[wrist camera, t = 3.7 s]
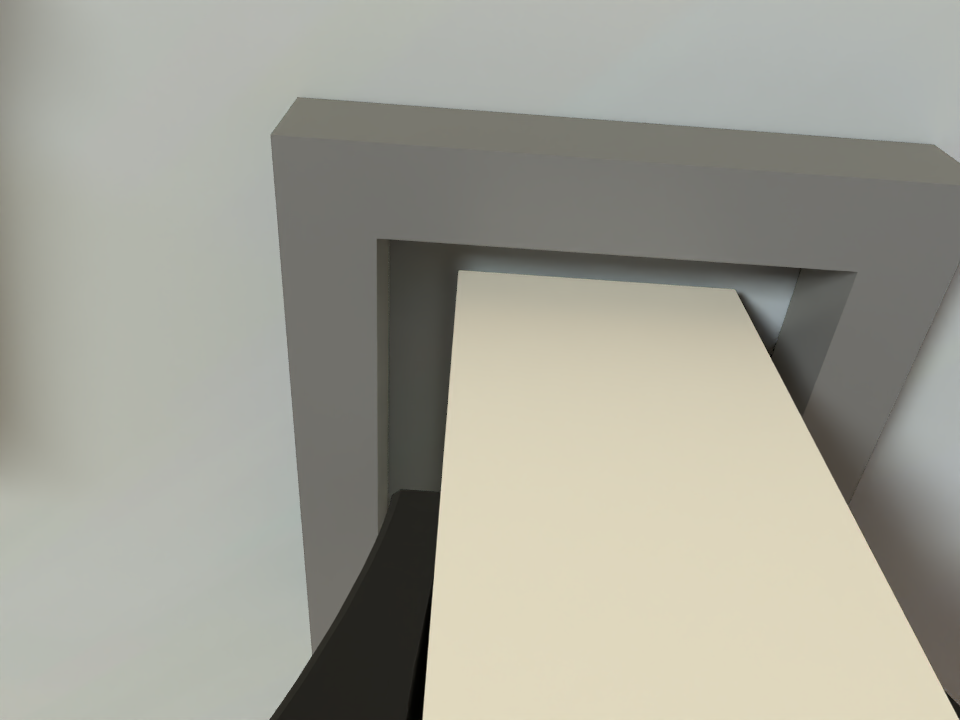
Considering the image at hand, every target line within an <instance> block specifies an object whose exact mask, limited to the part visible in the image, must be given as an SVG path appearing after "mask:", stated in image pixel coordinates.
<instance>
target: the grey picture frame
mask: <svg viewBox="0 0 960 720" xmlns="http://www.w3.org/2000/svg"><path fill="white" fill-rule="evenodd" d="M271 146H272V159H273V171H274V184H275V196H276V209H277V221H278V234H279V246H280V259H281V271H282V284H283V296H284V308H285V321H286V333H287V346H288V358H289V371H290V383H291V396H292V408H293V421H294V433H295V446H296V458H297V471H298V483H299V495H300V508H301V520H302V533H303V545H304V558H305V570H306V583H307V595H308V608H309V620H310V633H311V645H312V655H313V654H314V652H315V650H316V649H317V647H318V646H319V644H320V642H321V641H322V639H323V638H324V636H325V634H326V633H327V631H328V630H329V628H330V626H331V625H332V623H333V621H334V620H335V618H336V616H337V614H338V613H339V611H340V609H341V607H342V605H343V603H344V602H345V600H346V598H347V596H348V594H349V592H350V591H351V589H352V587H353V585H354V583H355V581H356V579H357V578H358V576H359V574H360V572H361V570H362V568H363V566H364V564H365V562H366V560H367V558H368V556H369V554H370V551H371V549H372V547H373V545H374V543H375V541H376V539H377V536H378V534H379V532H380V529H381V527H382V524H383V522H384V519H385V516H386V514H387V511H388V413H389V249H390V239H392V240H406V241H421V242H435V243H449V244H464V245H478V246H492V247H507V248H521V249H535V250H550V251H564V252H578V253H593V254H607V255H622V256H636V257H650V258H665V259H679V260H693V261H708V262H722V263H736V264H751V265H765V266H779V267H794V268H801V271H800V274H799V277H798V280H797V283H796V286H795V289H794V292H793V295H792V298H791V301H790V304H789V307H788V310H787V313H786V316H785V319H784V322H783V325H782V328H781V331H780V334H779V337H778V340H777V343H776V346H775V349H774V352H773V355H772V358H771V360H772V362H773V363H774V365H775V367H776V369H777V371H778V373H779V375H780V377H781V379H782V381H783V383H784V385H785V386H786V388H787V390H788V392H789V394H790V396H791V398H792V400H793V402H794V404H795V406H796V408H797V409H798V411H799V413H800V415H801V417H802V419H803V421H804V423H805V425H806V427H807V429H808V431H809V433H810V434H811V436H812V438H813V440H814V442H815V444H816V446H817V448H818V450H819V452H820V454H821V456H822V457H823V459H824V461H825V463H826V465H827V467H828V469H829V471H830V473H831V475H832V477H833V479H834V480H835V482H836V484H837V486H838V488H839V490H840V492H841V494H842V496H843V498H844V500H845V502H846V504H847V505H848V504H849V502H850V500H851V498H852V496H853V493H854V491H855V489H856V487H857V485H858V483H859V480H860V478H861V476H862V474H863V472H864V470H865V467H866V465H867V463H868V461H869V459H870V456H871V454H872V452H873V450H874V448H875V446H876V443H877V441H878V439H879V437H880V435H881V433H882V430H883V428H884V426H885V424H886V422H887V419H888V417H889V415H890V413H891V411H892V409H893V406H894V404H895V402H896V400H897V398H898V395H899V393H900V391H901V389H902V387H903V385H904V382H905V380H906V378H907V376H908V374H909V372H910V369H911V367H912V365H913V363H914V361H915V358H916V356H917V354H918V352H919V350H920V348H921V345H922V343H923V341H924V339H925V337H926V335H927V332H928V330H929V328H930V326H931V324H932V321H933V319H934V317H935V315H936V313H937V311H938V308H939V306H940V304H941V302H942V300H943V298H944V295H945V293H946V291H947V289H948V287H949V284H950V282H951V280H952V278H953V276H954V274H955V271H956V269H957V267H958V265H959V263H960V163H959V162H958V161H956V160H955V159H953V158H952V157H951V156H949V155H948V154H946V153H945V152H944V151H942V150H941V149H940V148H938V147H937V146H935V145H931V144H918V143H905V142H891V141H878V140H864V139H851V138H837V137H824V136H811V135H797V134H784V133H770V132H757V131H743V130H730V129H717V128H703V127H690V126H676V125H663V124H649V123H636V122H623V121H609V120H596V119H582V118H569V117H555V116H542V115H529V114H515V113H502V112H488V111H475V110H461V109H448V108H435V107H421V106H408V105H394V104H381V103H367V102H354V101H341V100H327V99H314V98H300V97H297V99H296V100H295V102H294V103H293V104H292V106H291V107H290V109H289V110H288V111H287V113H286V114H285V116H284V117H283V118H282V120H281V121H280V122H279V124H278V125H277V127H276V128H275V129H274V131H273V132H272V134H271Z"/></svg>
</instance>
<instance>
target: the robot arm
mask: <svg viewBox="0 0 960 720" xmlns="http://www.w3.org/2000/svg"><path fill="white" fill-rule="evenodd" d="M440 496H441V492H435V491H419V490H403V489H401V490H399V491H398V492H396V493H395V494H393V495H392V498H391V501H390V505H389V508H388V511H387V514H386V516H385V519H384V522H383V524H382V527H381V529H380V532H379V534H378V536H377V539H376V541H375V543H374V545H373V547H372V549H371V551H370V554H369V556H368V558H367V560H366V562H365V564H364V566H363V568H362V570H361V572H360V574H359V576H358V578H357V579H356V581H355V583H354V585H353V587H352V589H351V591H350V592H349V594H348V596H347V598H346V600H345V602H344V603H343V605H342V607H341V609H340V611H339V613H338V614H337V616H336V618H335V620H334V621H333V623H332V625H331V626H330V628H329V630H328V631H327V633H326V634H325V636H324V638H323V639H322V641H321V642H320V644H319V646H318V647H317V649H316V650H315V652H314V654H313V655H312V657H311V658H310V660H309V662H308V663H307V665H306V666H305V668H304V670H303V671H302V673H301V674H300V676H299V678H298V679H297V681H296V682H295V684H294V685H293V687H292V688H291V689H290V691H289V692H288V694H287V695H286V697H285V698H284V700H283V701H282V703H281V704H280V706H279V707H278V708H277V710H276V711H275V713H274V714H273V715H272V717H271V718H270V720H423V708H424V696H425V683H426V671H427V658H428V646H429V633H430V621H431V608H432V596H433V583H434V571H435V558H436V546H437V533H438V521H439V508H440ZM944 692H945V691H944ZM945 693H946V692H945ZM946 695H947V697H948V699H949V701H950V703H951V705H952V707H953V709H954V711H955V713H956V715H957V717H958V718H959V720H960V706H959V705H958V704H957V703H956V702H955V701H954V700H953V699H952V698H951V697H950V696H949V695H948V694H947V693H946Z"/></svg>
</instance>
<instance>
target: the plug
mask: <svg viewBox="0 0 960 720" xmlns="http://www.w3.org/2000/svg"><path fill="white" fill-rule="evenodd" d="M423 720H959V718H958V717H957V715H956V713H955V711H954V709H953V707H952V705H951V703H950V701H949V699H948V697H947V695H946V693H945V692H944V690H943V688H942V686H941V684H940V682H939V680H938V678H937V676H936V674H935V672H934V670H933V669H932V667H931V665H930V663H929V661H928V659H927V657H926V655H925V653H924V651H923V649H922V647H921V646H920V644H919V642H918V640H917V638H916V636H915V634H914V632H913V630H912V628H911V626H910V624H909V622H908V621H907V619H906V617H905V615H904V613H903V611H902V609H901V607H900V605H899V603H898V601H897V599H896V598H895V596H894V594H893V592H892V590H891V588H890V586H889V584H888V582H887V580H886V578H885V576H884V575H883V573H882V571H881V569H880V567H879V565H878V563H877V561H876V559H875V557H874V555H873V553H872V551H871V550H870V548H869V546H868V544H867V542H866V540H865V538H864V536H863V534H862V532H861V530H860V528H859V527H858V525H857V523H856V521H855V519H854V517H853V515H852V513H851V511H850V509H849V507H848V505H847V504H846V502H845V500H844V498H843V496H842V494H841V492H840V490H839V488H838V486H837V484H836V482H835V480H834V479H833V477H832V475H831V473H830V471H829V469H828V467H827V465H826V463H825V461H824V459H823V457H822V456H821V454H820V452H819V450H818V448H817V446H816V444H815V442H814V440H813V438H812V436H811V434H810V433H809V431H808V429H807V427H806V425H805V423H804V421H803V419H802V417H801V415H800V413H799V411H798V409H797V408H796V406H795V404H794V402H793V400H792V398H791V396H790V394H789V392H788V390H787V388H786V386H785V385H784V383H783V381H782V379H781V377H780V375H779V373H778V371H777V369H776V367H775V365H774V363H773V362H772V360H771V358H770V356H769V354H768V352H767V350H766V348H765V346H764V344H763V342H762V340H761V338H760V337H759V335H758V333H757V331H756V329H755V327H754V325H753V323H752V321H751V319H750V317H749V315H748V314H747V312H746V310H745V308H744V306H743V304H742V302H741V300H740V298H739V296H738V294H737V292H736V291H735V289H723V288H709V287H694V286H680V285H665V284H651V283H636V282H622V281H608V280H593V279H579V278H564V277H550V276H535V275H521V274H507V273H492V272H478V271H463V270H459V271H458V283H457V296H456V308H455V321H454V333H453V346H452V358H451V371H450V383H449V396H448V408H447V421H446V433H445V446H444V458H443V471H442V483H441V496H440V508H439V521H438V533H437V546H436V558H435V571H434V583H433V596H432V608H431V621H430V633H429V646H428V658H427V671H426V683H425V696H424V708H423Z"/></svg>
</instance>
